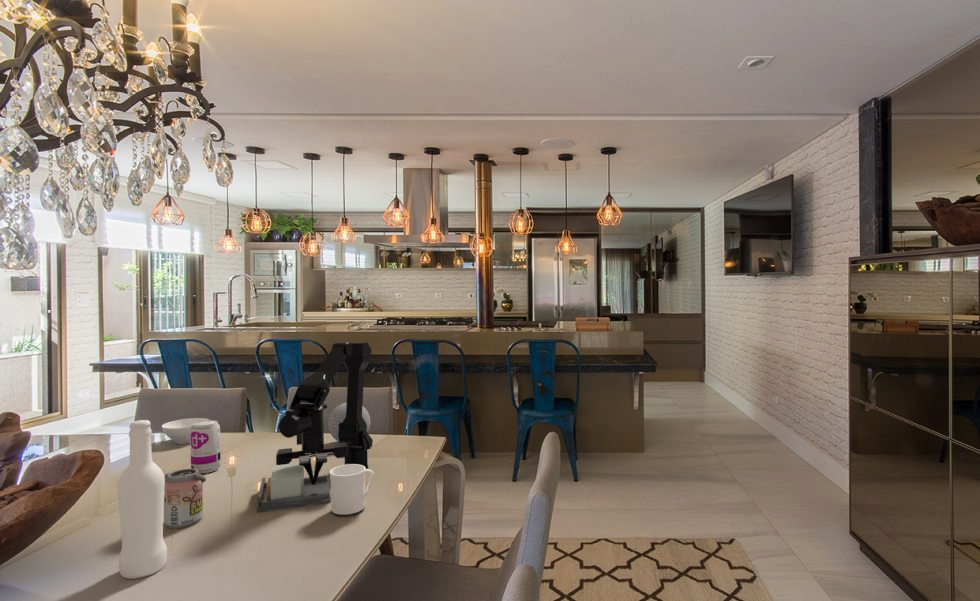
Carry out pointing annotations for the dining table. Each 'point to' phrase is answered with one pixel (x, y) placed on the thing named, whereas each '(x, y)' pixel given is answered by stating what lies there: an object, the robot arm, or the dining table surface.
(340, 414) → the decorative ball
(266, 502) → the housing base
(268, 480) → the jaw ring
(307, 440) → the robot arm
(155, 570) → the bottle
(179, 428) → the bowl
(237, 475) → the dining table surface
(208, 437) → the supplement can
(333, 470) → the mug
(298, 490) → the housing cover
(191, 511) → the pink grey lidded container
